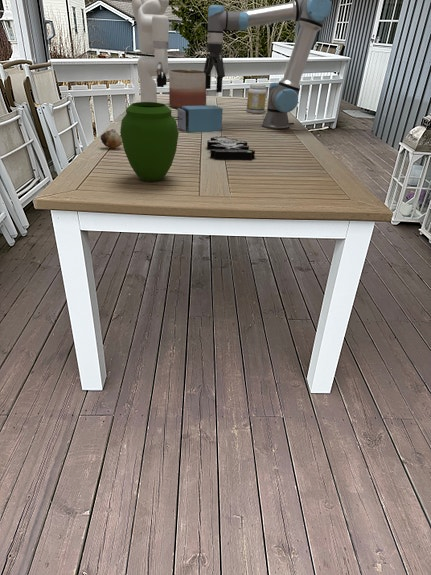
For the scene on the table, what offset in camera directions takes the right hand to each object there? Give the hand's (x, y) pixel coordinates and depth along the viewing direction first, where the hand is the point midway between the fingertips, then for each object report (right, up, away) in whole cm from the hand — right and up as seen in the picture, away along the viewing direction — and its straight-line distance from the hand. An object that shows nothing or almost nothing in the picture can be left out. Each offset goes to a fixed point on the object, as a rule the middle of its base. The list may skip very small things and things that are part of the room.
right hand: (213, 90), depth 213 cm
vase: (-22, -64, -67) cm, 95 cm away
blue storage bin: (-6, -17, +10) cm, 20 cm away
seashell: (-44, -42, -33) cm, 69 cm away
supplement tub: (+28, +17, +66) cm, 74 cm away
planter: (-18, +22, +71) cm, 77 cm away
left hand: (-26, -3, -10) cm, 28 cm away
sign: (+7, -41, -28) cm, 50 cm away
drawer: (-12, -17, +7) cm, 22 cm away
